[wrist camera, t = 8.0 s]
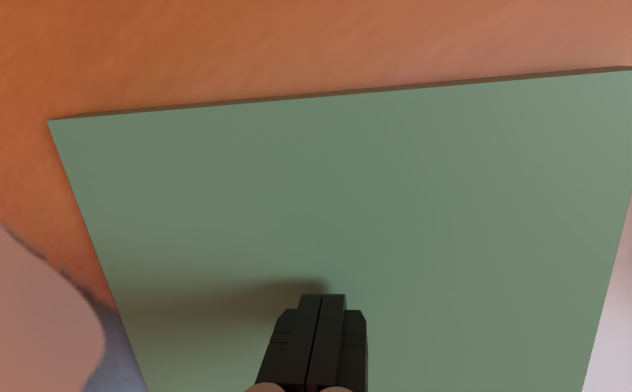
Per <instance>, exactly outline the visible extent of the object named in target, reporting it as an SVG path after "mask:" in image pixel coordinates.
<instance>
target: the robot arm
mask: <svg viewBox="0 0 632 392" xmlns="http://www.w3.org/2000/svg"><path fill="white" fill-rule="evenodd" d="M244 392H368V341H367V323H366V320H365V318H364V316H363V314H362V312H361V310H347V305H346V295H345V294H324V295H323V294H302V295H301V297H300V301H299V304H298V308H297V309H290V308H287V309H286V310H285V311H284V312H283V313H282V314H281V315H280V316H279V318H278V319H277V321H276V324H275V327H274V330H273V334H272V335H271V338H270V341H269V344H268V347H267V349H266V352H265V355H264V358H263V361H262V364H261V366H260V369H259V372H258V375H257V378H256V381H255V383H254V385H253V386H251V387H250V388H248V389H247V390H245V391H244Z"/></svg>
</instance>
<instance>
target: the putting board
mask: <svg viewBox="0 0 632 392" xmlns="http://www.w3.org/2000/svg"><path fill="white" fill-rule="evenodd" d="M47 124H48V127H49V129H50V132H51V134H52V137H53V140H54V142H55V145H56V148H57V150H58V153H59V156H60V158H61V161H62V164H63V166H64V169H65V172H66V174H67V177H68V180H69V182H70V185H71V187H72V190H73V193H74V195H75V198H76V201H77V203H78V206H79V209H80V211H81V214H82V217H83V219H84V222H85V225H86V227H87V230H88V233H89V235H90V238H91V240H92V243H93V246H94V248H95V251H96V254H97V256H98V259H99V262H100V264H101V267H102V270H103V272H104V275H105V278H106V280H107V283H108V286H109V288H110V291H111V293H112V296H113V299H114V301H115V304H116V307H117V309H118V312H119V315H120V317H121V320H122V323H123V325H124V328H125V331H126V333H127V336H128V338H129V341H130V344H131V346H132V349H133V352H134V354H135V357H136V360H137V362H138V365H139V368H140V370H141V373H142V376H143V378H144V381H145V384H146V386H147V389H148V391H149V392H244V391H245V390H247V389H248V388H250V387H251V386H253V385H254V383H255V381H256V378H257V375H258V372H259V369H260V366H261V364H262V361H263V358H264V355H265V352H266V349H267V347H268V344H269V341H270V338H271V335H272V334H273V330H274V327H275V324H276V321H277V319H278V318H279V316H280V315H281V314H282V313H283V312H284V311H285V310H286V309H287V308H290V309H297V308H298V304H299V301H300V297H301V295H302V294H323V295H324V294H345V295H346V305H347V310H361V312H362V314H363V316H364V318H365V320H366V323H367V341H368V392H582V388H583V384H584V380H585V376H586V372H587V368H588V364H589V360H590V356H591V352H592V348H593V344H594V340H595V336H596V332H597V328H598V325H599V321H600V317H601V313H602V309H603V305H604V301H605V297H606V293H607V289H608V285H609V281H610V277H611V273H612V269H613V265H614V261H615V257H616V253H617V249H618V245H619V241H620V237H621V233H622V229H623V225H624V221H625V218H626V214H627V210H628V206H629V202H630V198H631V194H632V66H616V67H605V68H594V69H582V70H571V71H560V72H548V73H537V74H526V75H515V76H503V77H492V78H481V79H469V80H458V81H447V82H436V83H424V84H413V85H402V86H390V87H379V88H368V89H357V90H345V91H334V92H323V93H311V94H300V95H289V96H278V97H266V98H255V99H244V100H232V101H221V102H210V103H198V104H187V105H176V106H165V107H153V108H142V109H131V110H119V111H108V112H97V113H86V114H78V115H73V116H68V117H63V118H58V119H53V120H47Z"/></svg>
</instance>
